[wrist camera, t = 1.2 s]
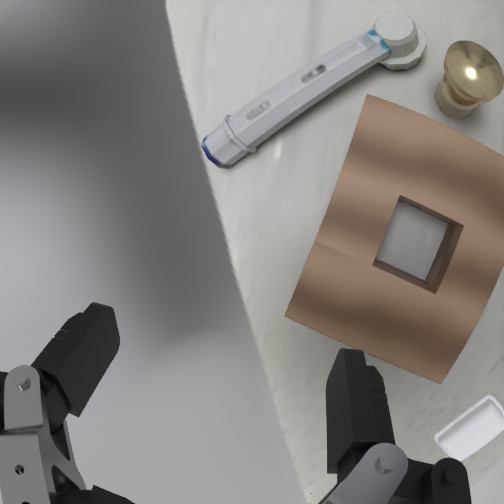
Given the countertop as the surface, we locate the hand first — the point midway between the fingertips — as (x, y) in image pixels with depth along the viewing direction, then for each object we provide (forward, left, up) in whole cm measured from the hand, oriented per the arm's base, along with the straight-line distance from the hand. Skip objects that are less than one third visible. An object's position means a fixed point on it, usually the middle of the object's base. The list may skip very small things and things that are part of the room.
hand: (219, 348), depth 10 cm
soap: (+11, +26, -22) cm, 36 cm away
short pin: (-20, +8, -21) cm, 30 cm away
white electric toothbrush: (-16, -5, -22) cm, 27 cm away
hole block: (-5, +8, -21) cm, 23 cm away
